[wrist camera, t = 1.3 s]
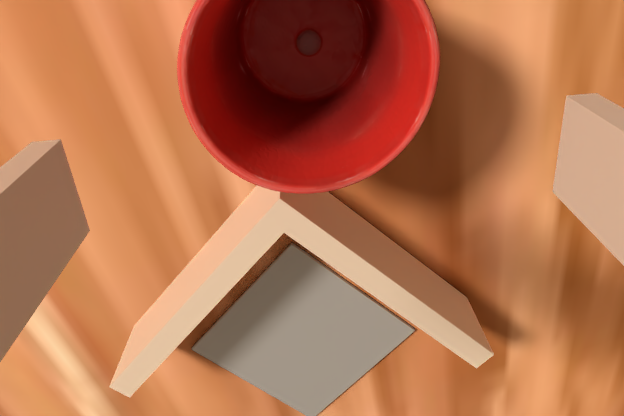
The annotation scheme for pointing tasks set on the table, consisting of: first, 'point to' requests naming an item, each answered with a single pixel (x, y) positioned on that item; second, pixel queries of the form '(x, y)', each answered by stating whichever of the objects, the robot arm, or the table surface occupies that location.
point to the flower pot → (307, 86)
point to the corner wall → (323, 243)
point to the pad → (302, 333)
